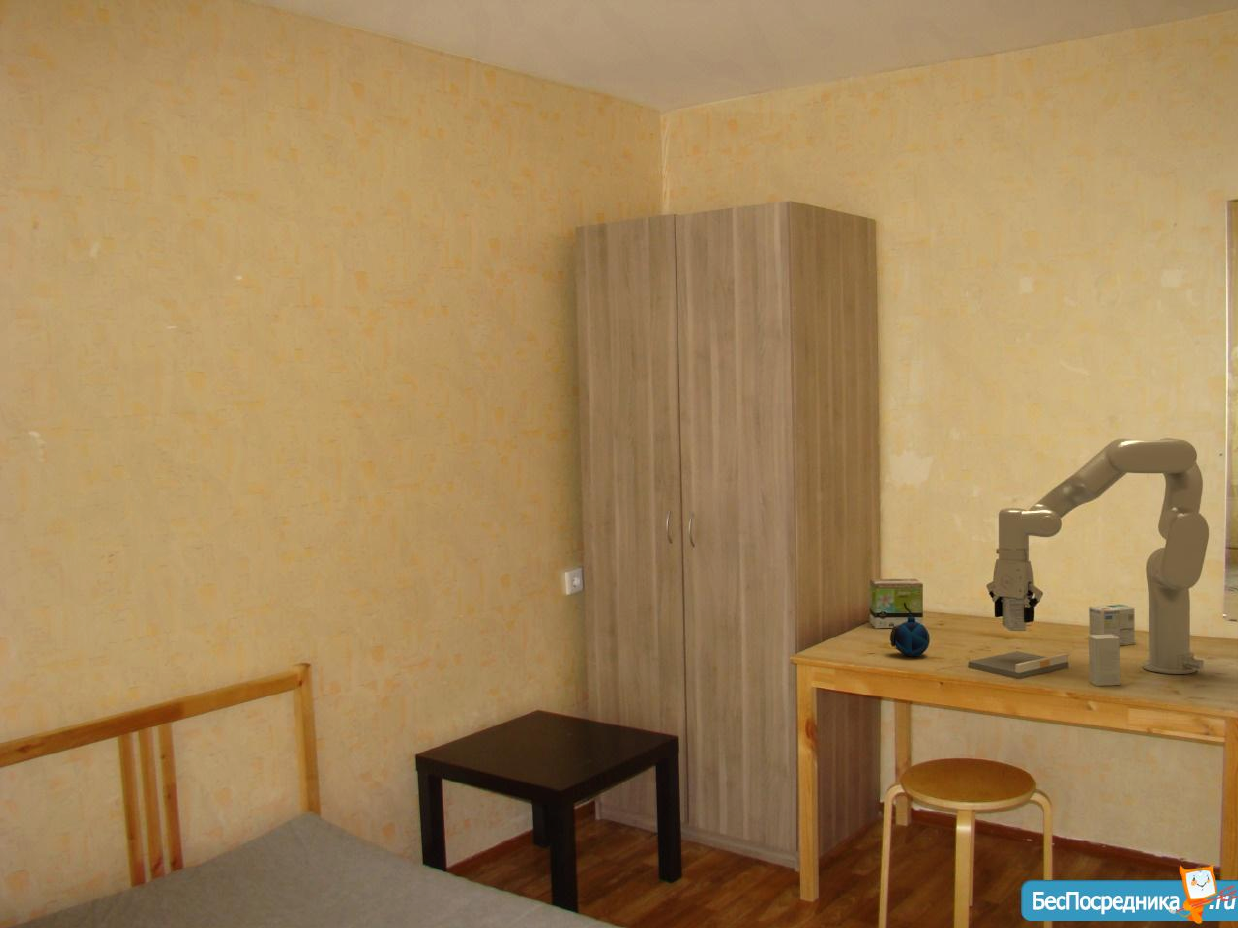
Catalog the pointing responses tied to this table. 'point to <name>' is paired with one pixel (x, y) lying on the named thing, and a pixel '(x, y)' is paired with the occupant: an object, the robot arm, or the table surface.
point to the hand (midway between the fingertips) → (1014, 619)
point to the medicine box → (1013, 614)
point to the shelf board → (1020, 664)
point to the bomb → (910, 637)
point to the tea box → (895, 601)
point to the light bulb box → (1113, 622)
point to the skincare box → (1104, 660)
